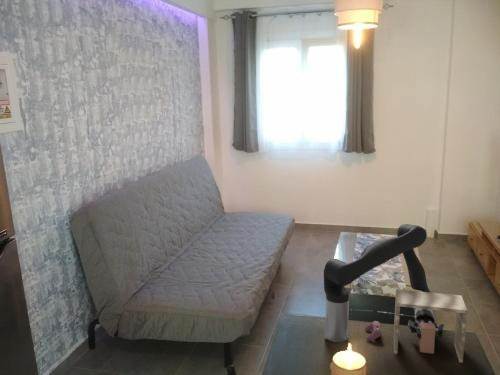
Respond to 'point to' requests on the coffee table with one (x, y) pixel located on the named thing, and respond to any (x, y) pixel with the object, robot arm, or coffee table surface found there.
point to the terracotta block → (427, 337)
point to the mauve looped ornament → (376, 330)
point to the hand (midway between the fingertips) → (427, 337)
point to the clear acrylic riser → (433, 303)
